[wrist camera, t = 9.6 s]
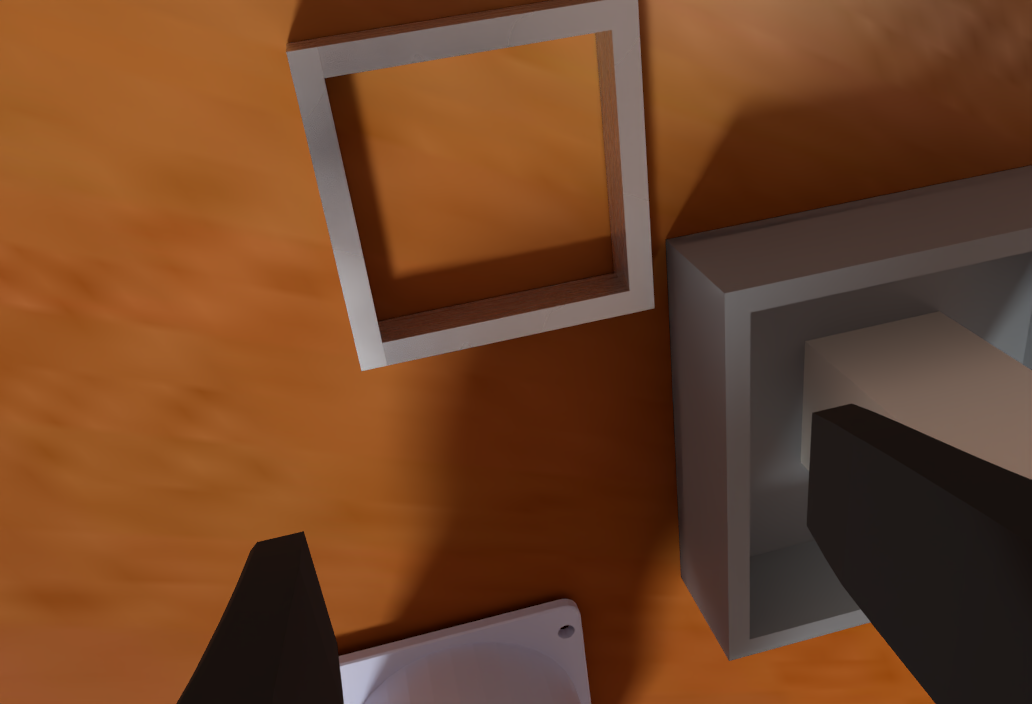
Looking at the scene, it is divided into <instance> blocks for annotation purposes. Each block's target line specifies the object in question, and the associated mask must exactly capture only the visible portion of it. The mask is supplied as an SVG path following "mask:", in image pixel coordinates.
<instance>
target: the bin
mask: <svg viewBox="0 0 1032 704" xmlns="http://www.w3.org/2000/svg"><path fill="white" fill-rule="evenodd" d="M666 259H667V280H668V302H669V324H670V346H671V368H672V389H673V411H674V433H675V455H676V477H677V499H678V520H679V542H680V564H681V578H682V579H683V581H684V583H685V585H686V586H687V588H688V590H689V592H690V593H691V595H692V597H693V599H694V600H695V602H696V604H697V606H698V607H699V609H700V611H701V613H702V614H703V616H704V618H705V619H706V621H707V623H708V625H709V626H710V628H711V630H712V632H713V633H714V635H715V637H716V639H717V640H718V642H719V644H720V646H721V647H722V649H723V651H724V653H725V654H726V656H727V658H728V660H729V661H731V660H734V659H738V658H741V657H745V656H749V655H752V654H756V653H760V652H763V651H767V650H771V649H774V648H778V647H782V646H785V645H789V644H793V643H796V642H800V641H803V640H807V639H811V638H814V637H818V636H822V635H825V634H829V633H833V632H836V631H840V630H844V629H847V628H851V627H854V626H858V625H862V624H865V623H869V622H870V621H869V619H868V618H867V617H866V615H865V614H864V613H863V612H862V610H861V609H860V608H859V607H858V605H857V604H856V603H855V601H854V600H853V599H852V598H851V596H850V595H849V594H848V592H847V591H846V590H845V588H844V587H843V586H842V584H841V583H840V581H839V580H838V578H837V576H836V575H835V573H834V572H833V570H832V568H831V567H830V565H829V563H828V562H827V560H826V559H825V557H824V555H823V553H822V552H821V550H820V548H819V546H818V545H817V543H816V541H815V539H814V538H813V536H812V534H811V532H810V531H809V529H808V527H807V505H808V485H809V471H808V470H807V469H806V467H805V466H804V465H803V464H802V463H801V440H802V414H803V387H804V360H805V341H808V340H813V339H817V338H822V337H826V336H831V335H835V334H840V333H844V332H849V331H853V330H858V329H862V328H867V327H871V326H876V325H880V324H885V323H889V322H894V321H898V320H903V319H907V318H911V317H916V316H920V315H925V314H929V313H934V312H938V311H940V312H941V313H943V314H944V315H946V316H947V317H949V318H951V319H952V320H954V321H955V322H957V323H958V324H960V325H962V326H963V327H965V328H966V329H968V330H969V331H971V332H973V333H974V334H976V335H977V336H979V337H980V338H982V339H983V340H985V341H987V342H988V343H990V344H991V345H993V346H994V347H996V348H998V349H999V350H1001V351H1002V352H1004V353H1005V354H1007V355H1009V356H1010V357H1012V358H1013V359H1015V360H1016V361H1018V362H1020V363H1021V364H1023V365H1024V366H1026V367H1027V368H1029V369H1030V370H1032V165H1030V166H1026V167H1021V168H1016V169H1011V170H1006V171H1001V172H996V173H991V174H986V175H981V176H976V177H971V178H967V179H962V180H957V181H952V182H947V183H942V184H937V185H932V186H927V187H922V188H917V189H912V190H908V191H903V192H898V193H893V194H888V195H883V196H878V197H873V198H868V199H863V200H858V201H853V202H849V203H844V204H839V205H834V206H829V207H824V208H819V209H814V210H809V211H804V212H799V213H795V214H790V215H785V216H780V217H775V218H770V219H765V220H760V221H755V222H750V223H745V224H740V225H736V226H731V227H726V228H721V229H716V230H711V231H706V232H701V233H696V234H691V235H686V236H681V237H677V238H672V239H667V240H666Z"/></svg>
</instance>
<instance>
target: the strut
mask: <svg viewBox="0 0 1032 704" xmlns="http://www.w3.org/2000/svg"><path fill="white" fill-rule="evenodd" d="M851 403H852V404H855V405H857V406H860V407H863V408H865V409H868V410H871V411H873V412H876V413H878V414H880V415H883V416H885V417H887V418H890V419H892V420H894V421H897V422H899V423H901V424H904V425H906V426H908V427H910V428H913V429H915V430H917V431H919V432H922V433H924V434H926V435H928V436H931V437H933V438H935V439H937V440H940V441H942V442H944V443H946V444H949V445H951V446H953V447H955V448H958V449H960V450H962V451H965V452H967V453H969V454H971V455H974V456H976V457H978V458H981V459H983V460H985V461H988V462H990V463H992V464H995V465H997V466H1000V467H1002V468H1004V469H1007V470H1009V471H1012V472H1014V473H1017V474H1019V475H1022V476H1024V477H1026V478H1029V479H1031V480H1032V370H1030V369H1029V368H1027V367H1026V366H1024V365H1023V364H1021V363H1020V362H1018V361H1016V360H1015V359H1013V358H1012V357H1010V356H1009V355H1007V354H1005V353H1004V352H1002V351H1001V350H999V349H998V348H996V347H994V346H993V345H991V344H990V343H988V342H987V341H985V340H983V339H982V338H980V337H979V336H977V335H976V334H974V333H973V332H971V331H969V330H968V329H966V328H965V327H963V326H962V325H960V324H958V323H957V322H955V321H954V320H952V319H951V318H949V317H947V316H946V315H944V314H943V313H941V312H940V311H938V312H934V313H929V314H925V315H920V316H916V317H911V318H907V319H903V320H898V321H894V322H889V323H885V324H880V325H876V326H871V327H867V328H862V329H858V330H853V331H849V332H844V333H840V334H835V335H831V336H826V337H822V338H817V339H813V340H808V341H805V360H804V387H803V414H802V440H801V463H802V464H803V465H804V466H805V467H806V469H807V470H808V471H809V465H810V445H811V425H812V413H813V412H817V411H821V410H826V409H830V408H834V407H839V406H843V405H847V404H851Z"/></svg>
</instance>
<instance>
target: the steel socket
mask: <svg viewBox="0 0 1032 704" xmlns="http://www.w3.org/2000/svg"><path fill="white" fill-rule="evenodd" d="M590 33H596V44H597V57H598V70H599V83H600V96H601V110H602V123H603V136H604V149H605V162H606V175H607V188H608V201H609V214H610V227H611V240H612V253H613V266H614V273H610V274H605V275H600V276H596V277H591V278H586V279H581V280H576V281H571V282H567V283H562V284H557V285H552V286H547V287H542V288H538V289H533V290H528V291H523V292H518V293H513V294H509V295H504V296H499V297H494V298H489V299H484V300H480V301H475V302H470V303H465V304H460V305H455V306H451V307H446V308H441V309H436V310H431V311H426V312H422V313H417V314H412V315H407V316H402V317H398V318H393V319H388V320H383V321H378V320H377V316H376V311H375V307H374V302H373V298H372V293H371V289H370V284H369V279H368V275H367V270H366V266H365V261H364V257H363V252H362V248H361V243H360V238H359V234H358V229H357V225H356V220H355V216H354V211H353V206H352V202H351V197H350V193H349V188H348V184H347V179H346V175H345V170H344V165H343V161H342V156H341V152H340V147H339V143H338V138H337V134H336V129H335V124H334V120H333V115H332V111H331V106H330V102H329V97H328V92H327V88H326V83H325V79H324V78H328V77H334V76H340V75H346V74H352V73H358V72H364V71H370V70H376V69H382V68H388V67H394V66H400V65H406V64H412V63H417V62H423V61H429V60H435V59H441V58H447V57H453V56H459V55H465V54H471V53H477V52H483V51H489V50H495V49H501V48H507V47H513V46H519V45H525V44H531V43H537V42H542V41H548V40H554V39H560V38H566V37H572V36H578V35H584V34H590ZM286 53H287V57H288V61H289V65H290V70H291V74H292V78H293V82H294V86H295V91H296V95H297V99H298V103H299V108H300V112H301V116H302V120H303V125H304V129H305V133H306V137H307V142H308V146H309V150H310V154H311V159H312V163H313V167H314V171H315V176H316V180H317V184H318V188H319V192H320V197H321V201H322V205H323V209H324V214H325V218H326V222H327V226H328V231H329V235H330V239H331V243H332V248H333V252H334V256H335V260H336V265H337V269H338V273H339V277H340V282H341V286H342V290H343V294H344V298H345V303H346V307H347V311H348V315H349V320H350V324H351V328H352V332H353V337H354V341H355V345H356V349H357V354H358V358H359V362H360V366H361V371H364V370H369V369H373V368H378V367H383V366H387V365H392V364H397V363H401V362H406V361H411V360H415V359H420V358H425V357H429V356H434V355H439V354H443V353H448V352H453V351H458V350H462V349H467V348H472V347H476V346H481V345H486V344H490V343H495V342H500V341H504V340H509V339H514V338H518V337H523V336H528V335H532V334H537V333H542V332H546V331H551V330H556V329H560V328H565V327H570V326H574V325H579V324H584V323H588V322H593V321H598V320H602V319H607V318H612V317H616V316H621V315H626V314H630V313H635V312H640V311H644V310H649V309H654V308H655V306H654V287H653V269H652V250H651V232H650V213H649V195H648V177H647V158H646V140H645V121H644V103H643V84H642V66H641V47H640V29H639V10H638V0H551V1H545V2H539V3H533V4H526V5H520V6H514V7H508V8H502V9H496V10H489V11H483V12H477V13H471V14H465V15H458V16H452V17H446V18H440V19H434V20H427V21H421V22H415V23H409V24H403V25H397V26H390V27H384V28H378V29H372V30H366V31H359V32H353V33H347V34H341V35H335V36H329V37H322V38H316V39H310V40H304V41H298V42H291V43H287V48H286Z"/></svg>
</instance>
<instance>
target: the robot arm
mask: <svg viewBox="0 0 1032 704" xmlns="http://www.w3.org/2000/svg"><path fill="white" fill-rule="evenodd" d="M807 527H808V529H809V531H810V532H811V534H812V536H813V538H814V539H815V541H816V543H817V545H818V546H819V548H820V550H821V552H822V553H823V555H824V557H825V559H826V560H827V562H828V563H829V565H830V567H831V568H832V570H833V572H834V573H835V575H836V576H837V578H838V580H839V581H840V583H841V584H842V586H843V587H844V588H845V590H846V591H847V592H848V594H849V595H850V596H851V598H852V599H853V600H854V601H855V603H856V604H857V605H858V607H859V608H860V609H861V610H862V612H863V613H864V614H865V615H866V617H867V618H868V619H869V621H870V622H871V623H872V624H873V626H874V627H875V628H876V630H877V631H878V632H879V633H880V635H881V636H882V637H883V638H884V640H885V641H886V642H887V643H888V645H889V646H890V647H891V648H892V650H893V651H894V652H895V653H896V655H897V656H898V657H899V658H900V660H901V661H902V662H903V663H904V665H905V666H906V667H907V668H908V670H909V671H910V672H911V673H912V675H913V676H914V677H915V678H916V680H917V681H918V682H919V683H920V685H921V686H922V687H923V688H924V690H925V691H926V692H927V693H928V695H929V696H930V697H931V698H932V700H933V701H934V702H935V703H936V704H1032V480H1031V479H1029V478H1026V477H1024V476H1022V475H1019V474H1017V473H1014V472H1012V471H1009V470H1007V469H1004V468H1002V467H1000V466H997V465H995V464H992V463H990V462H988V461H985V460H983V459H981V458H978V457H976V456H974V455H971V454H969V453H967V452H965V451H962V450H960V449H958V448H955V447H953V446H951V445H949V444H946V443H944V442H942V441H940V440H937V439H935V438H933V437H931V436H928V435H926V434H924V433H922V432H919V431H917V430H915V429H913V428H910V427H908V426H906V425H904V424H901V423H899V422H897V421H894V420H892V419H890V418H887V417H885V416H883V415H880V414H878V413H876V412H873V411H871V410H868V409H865V408H863V407H860V406H857V405H855V404H852V403H851V404H847V405H843V406H839V407H834V408H830V409H826V410H821V411H817V412H813V413H812V425H811V445H810V465H809V485H808V505H807ZM565 625H569V626H568V627H567V628H565V629H560V628H561V627H563V626H565ZM177 704H591V698H590V690H589V681H588V673H587V665H586V656H585V648H584V639H583V631H582V623H581V614H580V612H579V609H578V607H577V604H576V603H575V602H574V601H573V600H570V599H559V600H555V601H551V602H548V603H544V604H540V605H536V606H532V607H528V608H524V609H520V610H516V611H513V612H509V613H505V614H501V615H497V616H493V617H489V618H485V619H481V620H478V621H474V622H470V623H466V624H462V625H458V626H454V627H450V628H446V629H443V630H439V631H435V632H431V633H427V634H423V635H419V636H415V637H411V638H408V639H404V640H400V641H396V642H392V643H388V644H384V645H380V646H376V647H373V648H369V649H365V650H361V651H357V652H353V653H349V654H345V655H341V656H339V655H338V647H337V641H336V638H335V635H334V631H333V628H332V625H331V621H330V618H329V615H328V611H327V608H326V605H325V601H324V598H323V595H322V591H321V588H320V585H319V581H318V578H317V574H316V571H315V568H314V564H313V561H312V558H311V554H310V551H309V548H308V544H307V541H306V538H305V534H304V531H303V532H299V533H295V534H291V535H286V536H282V537H278V538H274V539H269V540H265V541H261V542H257V543H256V544H255V546H254V547H253V548H252V550H251V551H250V553H249V556H248V558H247V561H246V564H245V566H244V568H243V571H242V573H241V576H240V578H239V580H238V583H237V585H236V587H235V590H234V592H233V594H232V596H231V599H230V601H229V603H228V605H227V607H226V609H225V612H224V614H223V616H222V618H221V620H220V622H219V624H218V626H217V628H216V630H215V632H214V634H213V636H212V638H211V640H210V642H209V644H208V646H207V648H206V650H205V652H204V654H203V656H202V658H201V660H200V662H199V664H198V666H197V668H196V670H195V672H194V674H193V676H192V677H191V679H190V681H189V683H188V685H187V686H186V688H185V690H184V691H183V693H182V695H181V697H180V698H179V700H178V702H177Z"/></svg>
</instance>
